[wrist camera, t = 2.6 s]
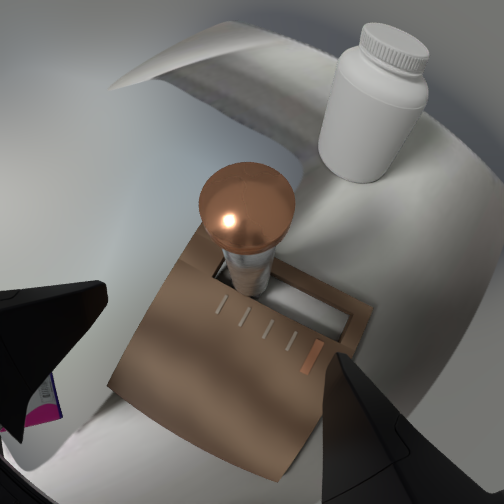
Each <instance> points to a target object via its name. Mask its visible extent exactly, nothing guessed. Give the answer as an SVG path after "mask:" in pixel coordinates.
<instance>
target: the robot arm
mask: <svg viewBox="0 0 504 504" xmlns="http://www.w3.org/2000/svg"><path fill="white" fill-rule="evenodd" d="M107 303H108V295H107V287H106V284H105V283H104V282H101V281H99V280H95V281H86V282H77V283H70V284H61V285H53V286H44V287H37V288H27V289H21V290H20V289H17V290H7V291H0V431H1V430H2V428H4V429H5V430H6V431H7V432H8V433H9V434H10V435H11V436H12V437H14V438H15V439H16V440H17V441H18V442H19V443H20V444H21V443H22V441H23V434H24V427H25V420H26V413H27V408H28V403H29V401H30V399H31V397H32V396H33V394H34V393H35V392H36V391H37V389H38V388H39V387H40V386H41V385H42V383H43V382H44V381H45V380H46V378H47V377H48V376H49V375H50V374H51V372H52V371H53V370H54V369H55V368H56V366H57V365H58V364H59V363H60V362H61V361H62V359H63V358H64V357H65V356H66V355H67V354H68V352H69V351H70V350H71V349H72V348H73V347H74V346H75V344H76V343H77V342H78V341H79V340H80V339H81V338H82V337H83V336H84V334H85V333H86V332H87V331H88V330H89V329H90V327H91V326H92V325H93V323H94V322H95V321H96V319H97V318H98V317H99V315H100V314H101V312H102V311H103V310H104V308H105V307H106V306H107ZM322 411H323V478H322V504H504V490H501V491H499V492H496V493H493V494H491V493H488V492H486V491H485V490H483V489H482V488H481V487H480V486H479V485H478V484H477V483H475V482H474V481H473V480H472V479H471V478H470V477H468V476H467V475H466V474H465V473H464V472H463V471H462V470H461V469H459V468H458V467H457V466H456V465H455V464H453V462H451V461H450V460H449V459H448V458H447V457H446V456H445V455H444V454H443V453H441V452H440V451H439V450H438V449H437V448H436V447H434V445H432V444H431V443H430V442H429V441H428V440H427V439H426V438H425V437H424V436H423V435H421V433H419V432H418V431H417V430H416V429H415V428H414V427H413V425H412V424H410V422H409V421H408V420H407V419H406V418H405V417H404V416H403V415H402V414H400V412H399V411H398V410H397V409H396V408H395V406H394V405H393V404H392V403H391V402H390V401H389V400H388V399H387V398H386V397H385V396H384V394H383V393H382V392H381V391H380V390H379V389H378V388H377V387H376V386H375V385H374V383H373V382H372V381H371V380H370V379H369V378H368V377H367V376H366V375H365V374H364V372H363V371H362V370H361V369H360V368H359V367H358V366H357V365H356V364H355V363H354V362H353V360H352V359H351V358H350V357H349V356H348V355H347V354H345V353H341V352H336V353H335V354H334V355H333V357H332V359H331V361H330V363H329V364H328V366H327V369H326V374H325V384H324V394H323V404H322ZM0 504H58V503H57V502H56V501H54V500H53V499H52V498H50V497H49V496H47V495H46V494H45V493H44V492H42V491H41V490H40V489H38V488H37V487H36V486H35V485H33V484H32V483H31V482H30V481H29V480H28V479H26V478H25V477H24V476H23V475H22V474H21V473H20V472H18V471H17V470H16V469H15V468H14V467H13V466H12V465H11V464H10V463H9V462H8V461H7V460H6V459H5V458H4V455H3V448H2V441H1V436H0Z"/></svg>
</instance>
